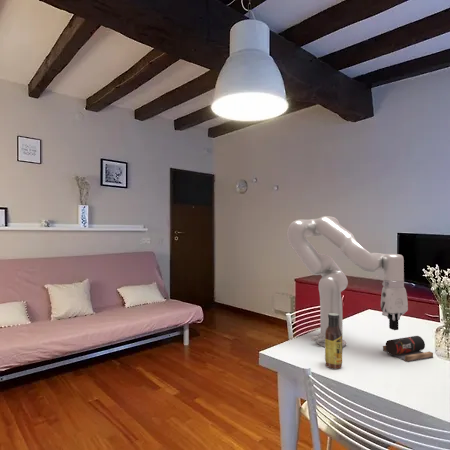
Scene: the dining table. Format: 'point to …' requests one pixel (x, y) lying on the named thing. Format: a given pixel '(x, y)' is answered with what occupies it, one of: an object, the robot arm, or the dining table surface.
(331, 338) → the sauce bottle
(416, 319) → the dining table surface
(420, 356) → the side rails
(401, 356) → the mat
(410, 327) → the dining table surface
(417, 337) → the deodorant
